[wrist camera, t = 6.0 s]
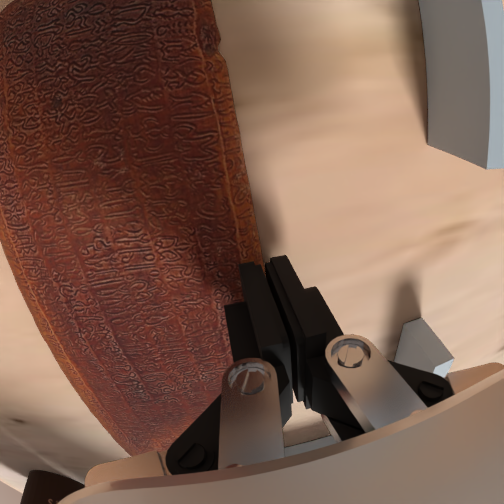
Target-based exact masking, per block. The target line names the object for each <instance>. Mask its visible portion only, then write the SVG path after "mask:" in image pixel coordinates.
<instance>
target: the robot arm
mask: <svg viewBox="0 0 504 504" xmlns="http://www.w3.org/2000/svg"><path fill="white" fill-rule="evenodd" d="M238 267H239V273H240V279H241V285H242V291H243V297H244V301H243V302H238V303H233V304H228V305H224V310H225V316H226V322H227V328H228V334H229V340H230V346H231V351H232V357H233V362H234V363H233V364H231V365H230V366H229V367H228V368H227V369H226V371H225V372H224V374H223V378H222V390H221V394H220V395H219V396H218V397H217V398H216V399H215V400H214V401H213V402H212V403H211V404H210V405H209V406H208V408H207V409H206V410H205V411H204V412H203V413H202V414H201V415H200V416H199V417H198V418H197V419H196V420H195V421H194V422H193V423H192V424H191V425H190V426H189V427H188V428H187V429H186V430H185V431H184V432H183V433H182V434H181V435H180V436H179V437H178V438H177V439H176V440H175V441H174V442H173V443H172V445H171V446H170V447H169V449H168V450H165V451H161V452H158V451H157V450H154V451H151V452H147V453H143V454H140V455H136V456H132V457H128V458H124V459H120V460H116V461H112V462H107V463H103V464H99V465H97V466H94V467H93V468H92V469H91V470H89V471H88V473H87V475H86V477H85V488H83V489H81V490H78V491H76V492H74V493H72V494H70V495H68V496H66V497H65V498H63V499H62V500H61V501H60V502H59V503H58V504H504V365H503V364H500V363H488V364H484V365H481V366H477V367H473V368H469V369H464V370H460V371H456V372H451V373H447V374H446V377H442V376H439V375H437V374H434V373H430V372H427V371H423V370H420V369H416V368H413V367H409V366H406V365H403V364H399V363H396V362H392V361H389V360H387V359H386V358H385V357H384V356H383V355H382V354H381V353H380V351H379V350H378V349H377V348H376V347H375V346H374V344H373V343H372V342H370V341H369V340H368V339H366V338H364V337H362V336H359V335H354V334H351V335H344V334H343V332H342V330H341V329H340V327H339V325H338V323H337V321H336V320H335V318H334V316H333V314H332V313H331V311H330V309H329V307H328V306H327V304H326V302H325V300H324V299H323V297H322V295H321V293H320V292H319V290H318V289H317V287H310V288H306V289H304V288H303V286H302V284H301V282H300V280H299V278H298V276H297V274H296V272H295V271H294V269H293V267H292V265H291V263H290V261H289V259H288V257H287V256H286V255H283V256H278V257H273V258H270V262H269V263H265V270H266V277H265V274H264V271H263V269H262V266H261V264H258V265H255V263H254V261H252V262H247V263H242V264H238ZM292 388H293V389H292ZM293 391H294V393H295V396H296V399H297V401H298V402H300V401H303V402H304V405H305V407H306V409H309V408H311V409H312V410H313V411H315V412H318V413H320V414H321V416H322V419H323V421H324V423H325V425H326V426H327V428H328V430H329V431H330V433H331V435H332V436H333V438H334V440H335V441H336V443H335V444H332V445H329V446H325V447H322V448H318V449H315V450H311V451H308V452H304V453H300V454H296V455H292V456H288V457H285V450H284V439H283V429H282V428H283V427H284V425H285V424H286V422H287V421H288V420H289V418H290V417H291V416H292V411H291V404H292V403H293Z"/></svg>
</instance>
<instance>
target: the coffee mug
mask: <svg viewBox="0 0 504 504" xmlns="http://www.w3.org/2000/svg"><path fill="white" fill-rule="evenodd" d="M83 488H85V485H83V484H81V483H79V482H77V481H74V480H72V479H70V478H67V477H64V476H61V475H58V474H54V473H50V472H46V471H40V470H33V471H30V473H29V476H28V479H27V482H26V485H25V489H24V492H23V496H22V499H21V503H20V504H58V503H59V502H60V501H61V500H62V499H63V498H65V497H66V496H68V495H70V494H72V493H74V492H76V491H78V490H81V489H83Z"/></svg>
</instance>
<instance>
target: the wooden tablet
mask: <svg viewBox="0 0 504 504" xmlns="http://www.w3.org/2000/svg"><path fill="white" fill-rule="evenodd" d="M220 40H221V39H220V35H219V31H218V28H217V26H216V22H215V16H214V12H213V8H212V4H211V1H210V0H14V1H13V2H11V3H9V4H8V5H7V6H6V7H5V8H4V9H3V10H2V11H1V12H0V241H1V244H2V247H3V250H4V253H5V255H6V258H7V260H8V262H9V265H10V267H11V270H12V272H13V275H14V277H15V280H16V282H17V285H18V287H19V289H20V291H21V293H22V295H23V298H24V300H25V302H26V304H27V306H28V308H29V310H30V312H31V314H32V316H33V318H34V321H35V323H36V325H37V327H38V329H39V331H40V333H41V335H42V337H43V338H44V340H45V341H46V343H47V344H48V346H49V348H50V350H51V352H52V353H53V355H54V357H55V359H56V361H57V362H58V364H59V366H60V368H61V369H62V371H63V372H64V374H65V375H66V377H67V378H68V380H69V381H70V383H71V384H72V386H73V387H74V389H75V390H76V392H77V393H78V394H79V396H80V397H81V399H82V400H83V401H84V403H85V404H86V405H87V407H88V408H89V410H90V411H91V412H92V414H93V415H94V416H95V417H96V418H97V419H98V420H99V422H100V423H101V424H102V425H103V427H104V428H105V429H106V430H107V431H108V433H109V434H111V436H112V437H113V438H114V439H115V441H116V442H117V443H118V444H119V445H120V446H121V447H122V448H123V449H125V451H126V452H127V453H128V454H129V455H130V456H136V455H140V454H143V453H147V452H151V451H154V450H157V451H158V452H161V451H165V450H168V449H169V447H170V446H171V445H172V443H173V442H174V441H175V440H176V439H177V438H178V437H179V436H180V435H181V434H182V433H183V432H184V431H185V430H186V429H187V428H188V427H189V426H190V425H191V424H192V423H193V422H194V421H195V420H196V419H197V418H198V417H199V416H200V415H201V414H202V413H203V412H204V411H205V410H206V409H207V408H208V406H209V405H210V404H211V403H212V402H213V401H214V400H215V399H216V398H217V397H218V396H219V395H220V394H221V390H222V378H223V374H224V372H225V371H226V369H227V368H228V367H229V366H230V365H231V364H233V363H234V362H233V357H232V351H231V346H230V340H229V334H228V328H227V322H226V316H225V310H224V305H228V304H233V303H238V302H243V301H244V297H243V291H242V285H241V279H240V273H239V267H238V264H242V263H247V262H252V261H254V263H255V265H258V264H261V266H262V269H263V271H264V265H263V260H262V253H261V246H260V241H259V236H258V230H257V225H256V220H255V214H254V209H253V203H252V198H251V192H250V186H249V181H248V177H247V172H246V167H245V161H244V156H243V151H242V146H241V139H240V132H239V127H238V123H237V118H236V114H235V110H234V104H233V97H232V92H231V88H230V81H229V75H228V70H227V66H226V61H225V60H224V59H223V57H222V56H221V54H220V53H219V52H218V45H219V42H220ZM264 274H265V272H264Z"/></svg>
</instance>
